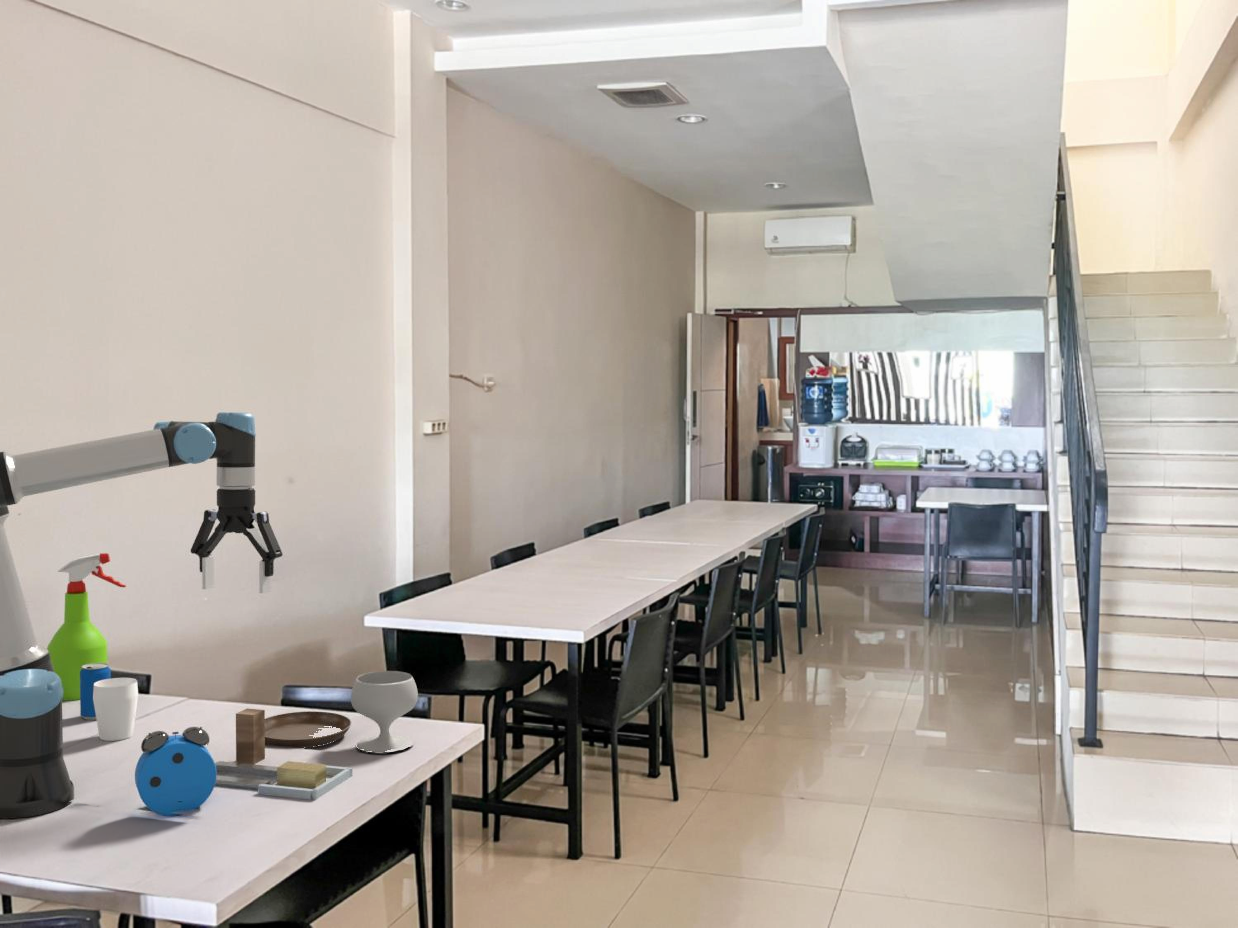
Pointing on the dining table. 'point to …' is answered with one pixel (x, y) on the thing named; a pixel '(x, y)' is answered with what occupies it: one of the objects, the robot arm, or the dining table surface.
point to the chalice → (384, 705)
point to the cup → (115, 707)
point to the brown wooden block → (250, 736)
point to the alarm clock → (175, 771)
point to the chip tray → (313, 794)
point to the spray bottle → (78, 627)
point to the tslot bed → (244, 775)
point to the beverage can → (91, 687)
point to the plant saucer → (303, 728)
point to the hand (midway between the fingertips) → (236, 590)
